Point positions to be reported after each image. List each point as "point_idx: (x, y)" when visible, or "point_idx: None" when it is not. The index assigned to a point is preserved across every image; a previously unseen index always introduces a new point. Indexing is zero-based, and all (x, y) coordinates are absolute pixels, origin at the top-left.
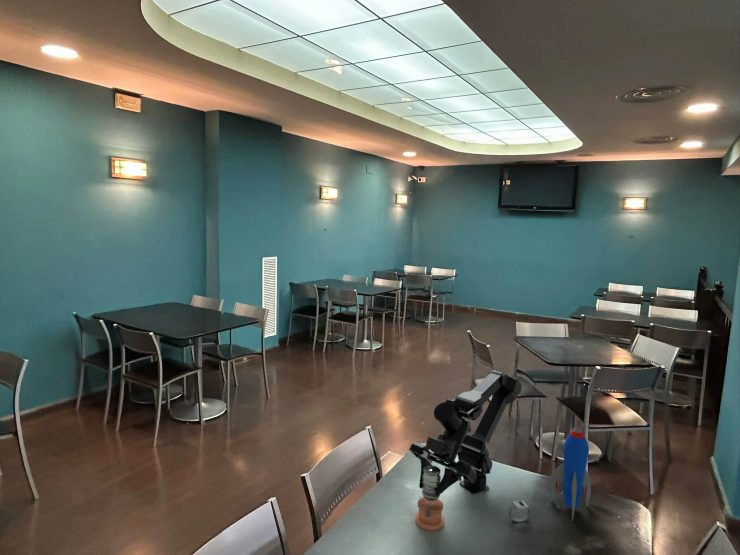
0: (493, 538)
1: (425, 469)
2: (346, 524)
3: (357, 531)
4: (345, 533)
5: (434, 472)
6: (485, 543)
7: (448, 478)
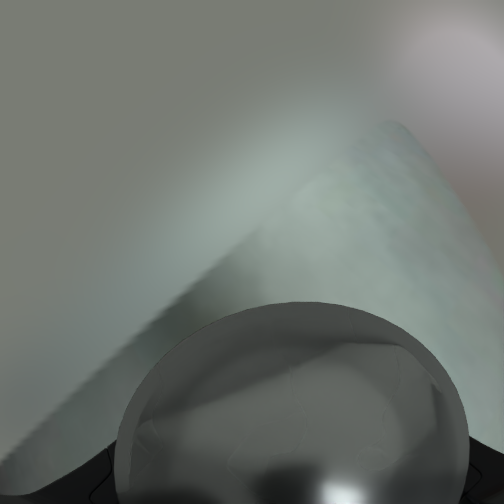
0: (47, 482)
1: (409, 383)
2: (442, 191)
3: (404, 191)
4: (411, 168)
5: (192, 433)
6: (51, 444)
7: (43, 494)
